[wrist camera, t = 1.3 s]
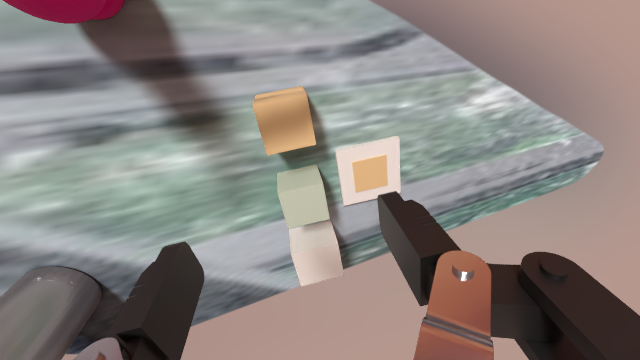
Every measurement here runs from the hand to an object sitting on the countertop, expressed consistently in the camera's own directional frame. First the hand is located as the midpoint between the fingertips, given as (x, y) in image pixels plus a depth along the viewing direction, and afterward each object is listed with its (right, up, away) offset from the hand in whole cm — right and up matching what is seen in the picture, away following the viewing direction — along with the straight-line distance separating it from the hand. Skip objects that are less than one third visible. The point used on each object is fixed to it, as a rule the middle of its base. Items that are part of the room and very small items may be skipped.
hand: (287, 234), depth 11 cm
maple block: (-3, +10, +18) cm, 21 cm away
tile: (+8, +3, +23) cm, 25 cm away
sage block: (-1, +2, +23) cm, 23 cm away
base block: (0, -7, +28) cm, 28 cm away
